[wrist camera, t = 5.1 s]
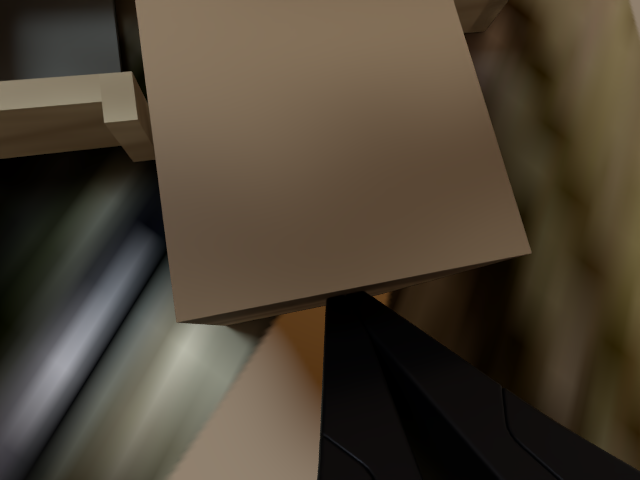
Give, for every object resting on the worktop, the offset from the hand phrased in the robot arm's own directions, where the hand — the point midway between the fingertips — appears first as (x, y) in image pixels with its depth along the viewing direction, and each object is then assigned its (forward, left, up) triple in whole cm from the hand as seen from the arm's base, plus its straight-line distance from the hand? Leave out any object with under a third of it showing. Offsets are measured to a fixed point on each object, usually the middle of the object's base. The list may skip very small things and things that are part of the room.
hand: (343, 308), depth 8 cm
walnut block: (+7, +4, -7) cm, 10 cm away
